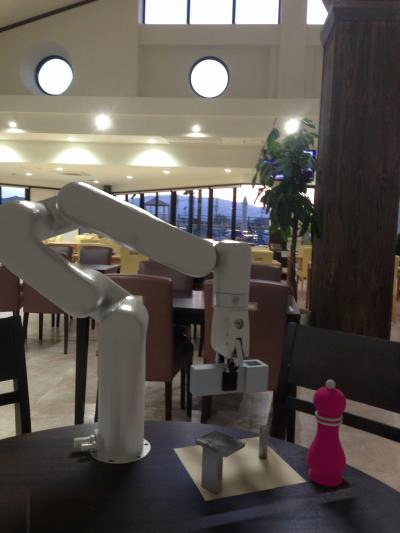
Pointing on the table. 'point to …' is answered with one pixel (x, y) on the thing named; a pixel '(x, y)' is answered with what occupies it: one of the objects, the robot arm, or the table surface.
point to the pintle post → (263, 442)
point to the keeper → (216, 458)
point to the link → (210, 378)
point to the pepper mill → (327, 437)
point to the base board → (241, 470)
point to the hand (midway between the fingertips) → (225, 386)
